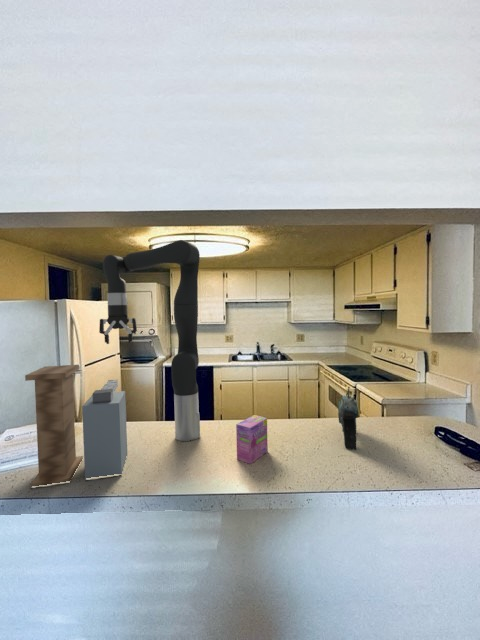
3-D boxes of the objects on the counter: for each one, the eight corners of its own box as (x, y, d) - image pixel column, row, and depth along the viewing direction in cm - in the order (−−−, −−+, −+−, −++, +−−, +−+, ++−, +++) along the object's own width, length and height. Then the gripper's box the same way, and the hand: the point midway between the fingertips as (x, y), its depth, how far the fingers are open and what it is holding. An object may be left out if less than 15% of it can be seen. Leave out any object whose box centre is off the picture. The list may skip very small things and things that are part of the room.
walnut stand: (82, 460, 100) (78, 364, 99) (69, 483, 87) (65, 372, 86) (49, 464, 98) (44, 366, 97) (30, 489, 84) (25, 375, 83)
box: (250, 464, 95) (249, 427, 95) (236, 459, 99) (235, 423, 98) (268, 451, 103) (267, 417, 103) (254, 447, 107) (253, 414, 106)
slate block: (127, 454, 104) (125, 391, 103) (121, 475, 90) (119, 402, 90) (95, 458, 101) (93, 393, 101) (85, 481, 88) (82, 406, 87)
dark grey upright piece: (360, 452, 101) (359, 393, 101) (339, 450, 103) (339, 392, 102) (353, 429, 120) (353, 379, 120) (336, 428, 122) (336, 379, 122)
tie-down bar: (106, 387, 109) (105, 378, 109) (120, 386, 110) (120, 377, 110) (92, 403, 89) (92, 393, 89) (111, 402, 91) (110, 392, 90)
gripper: (96, 304, 120) (98, 345, 120) (134, 303, 123) (136, 343, 124) (100, 304, 127) (102, 343, 128) (136, 304, 131) (137, 341, 131)
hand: (118, 343), depth 126 cm, fingers open, 8 cm apart
